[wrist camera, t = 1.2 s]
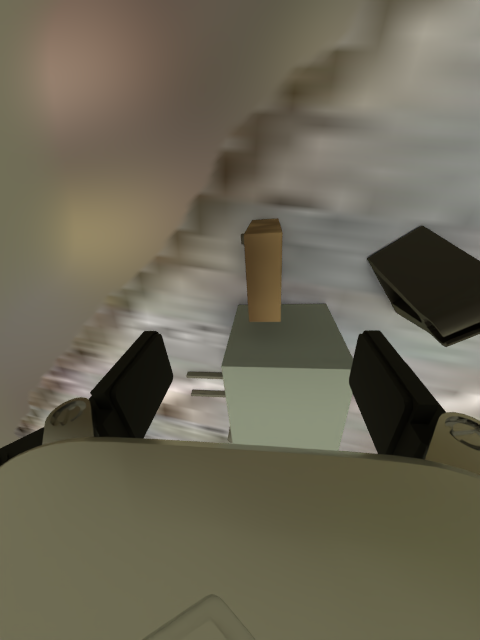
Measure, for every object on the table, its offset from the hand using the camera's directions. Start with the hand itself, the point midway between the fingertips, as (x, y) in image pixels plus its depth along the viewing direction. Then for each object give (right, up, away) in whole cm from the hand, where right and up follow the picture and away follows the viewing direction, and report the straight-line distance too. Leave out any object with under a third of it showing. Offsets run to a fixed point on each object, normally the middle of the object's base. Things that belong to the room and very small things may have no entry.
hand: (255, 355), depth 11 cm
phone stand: (+20, +8, +17) cm, 27 cm away
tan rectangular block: (+3, +10, +17) cm, 20 cm away
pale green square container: (+1, -4, +26) cm, 26 cm away
